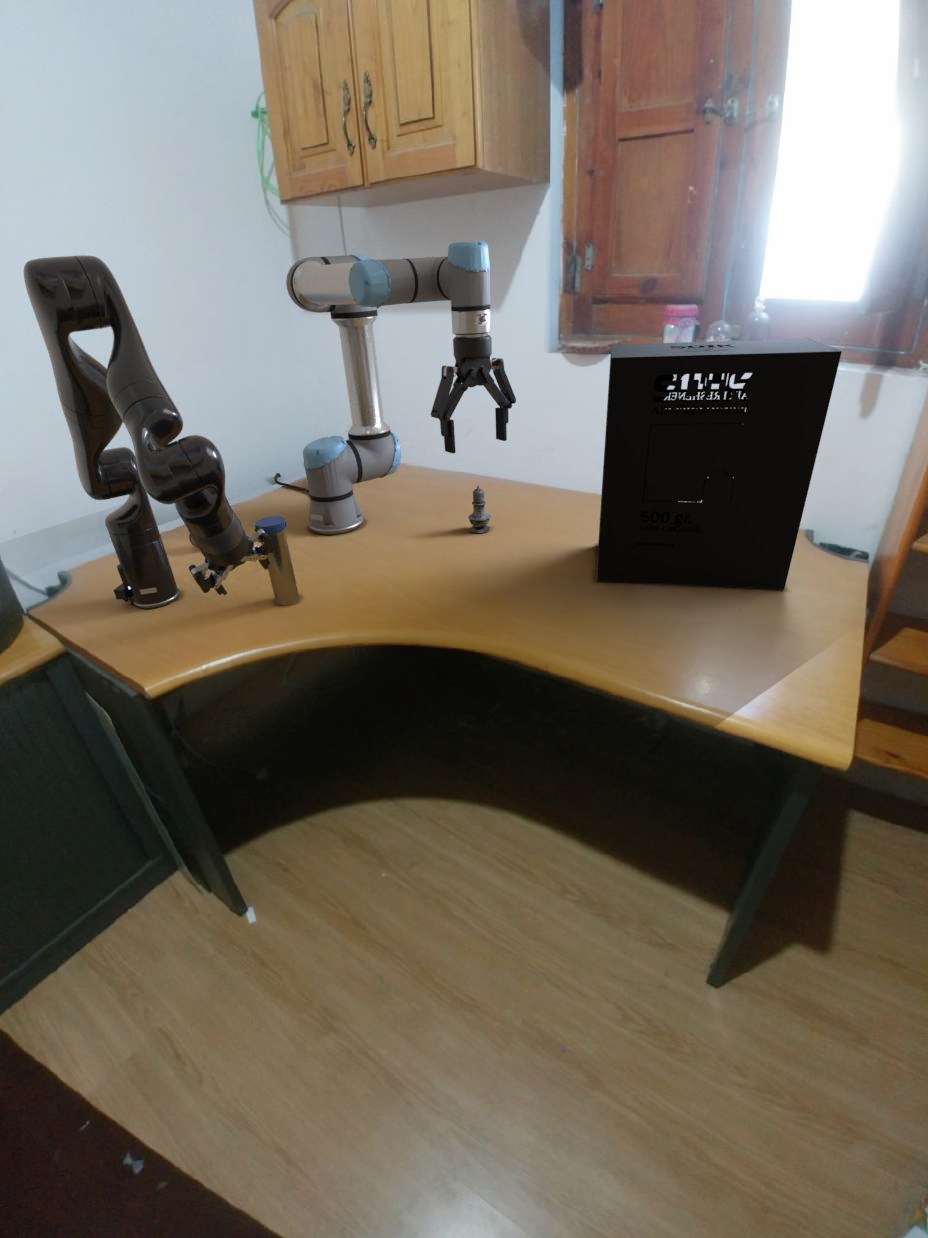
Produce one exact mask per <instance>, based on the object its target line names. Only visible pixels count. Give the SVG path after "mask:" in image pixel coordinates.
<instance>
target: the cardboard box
mask: <svg viewBox="0 0 928 1238" xmlns="http://www.w3.org/2000/svg"><path fill="white" fill-rule="evenodd" d="M841 356H842V350H840V349H838V348H834V347H833V346H829V345H827V344H823V343H821V342H819V341H816V340H813V339H811V338H808V337H807V338H806V337H805V338H780V339H779V338H777V339H776V338H775V339H774V338H773V339H749V340H748V339H746V340H745V339H744V340H718V341H688V342H687V341H685V342H683V341H682V342H681V341H680V342H652V343H624V344H623V343H621V344H611V345H610V358H609V372H608V373H609V374H608V386H607V388H608V392H607V405H606V419H605V420H606V422H605V434H604V451H603V452H604V453H603V466H602V481H601V496H600V512H599V513H600V514H599V528H598V541H597V542H598V543H597V566H596V567H597V568H596V582H609V583H630V584H648V585H649V584H653V585H672V586H673V585H674V586H675V585H676V586H693V587H695V586H697V587H699V586H700V587H716V588H717V587H718V588H719V587H720V588H739V589H740V588H742V589H762V590H764V589H765V590H781V591H782V590H785V588H786V584H787V580H788V576H789V572H790V567H791V563H792V559H793V555H794V551H795V546H796V542H797V538H798V535H799V531H800V528H801V527H800V526H801V522H802V518H803V514H804V509H805V506H806V501H807V497H808V493H809V489H810V485H811V480H812V476H813V472H814V468H815V465H816V460H817V456H818V451H819V447H820V443H821V440H822V435H823V432H824V427H825V423H826V419H827V415H828V410H829V405H830V403H831V398H832V394H833V390H834V386H835V381H836V378H837V374H838V369H839V365H840V360H841ZM745 374H751V375H750V376H749V377H748V378H743V377H744V376H745ZM675 375H676V378H675ZM685 375H688V380H687V386H686V388H682V385H683V377H684V376H685ZM696 375H700V380H699V379H695V377H696ZM710 375H712V377H711V379H710ZM723 375H724V376H723ZM733 376H734V378H733V385H738V384H743V386H742V387H741V388H739V387H738V388H733V387H731V385H730V383H731V379H732V377H733ZM699 385H702V388H699ZM713 385H718V388H712V387H713ZM670 386H671V387H673V388H671V389H668V388H669V387H670Z"/></svg>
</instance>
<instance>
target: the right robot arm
mask: <svg viewBox="0 0 928 1238" xmlns="http://www.w3.org/2000/svg"><path fill="white" fill-rule="evenodd" d="M490 263H491V262H490V252H489V245H488V244H487V242H485V241H484V240H466V241H455V242H451V243H450V244H449V245H448V247H447V256H431V257H430V256H427V257H413V258H411V257H410V258H391V259H390V258H386V259H374V258H370V257H369V256H367V255H358V254H349V255H328V256H326V255H325V256H310V257H305V258H302V259H300V260H298V261H296V262H295V263H293V265H291V267H290V268H289V269H288V272H287V275H286V281H285V282H286V283H285V284H286V285H285V286H286V290H287V293H288V296H289V297H290V299H291V300H292V303H294V304H295V305H296V306H298V307H299V308H300V309H302V310H304V311H306V312H310V313H318V314H319V313H320V314H321V313H330V320H331V321H332V322H333V323H334V324H335V325H336V326H337V327H338V332H339V333H338V334H339V339H340V347H341V355H342V361H343V369H344V375H345V382H346V383H345V384H346V389H347V396H348V404H349V410H350V418H351V425H350V426H349V428H348V430H347V436H348V439H345V437H343V436H341V435H332V436H324V437H321V438H318V439H315V440H312V441H311V442H309V443H308V444H306V445H305V446H304V448H303V450H302V457H303V459H302V460H303V467H304V471H305V476H306V481H307V486H308V488H305V487H303V486H300V485H299V486H298V485H294V484H289V483H286V482H282V481H278V478H281V477H282V475H281V474H280V472H276V473H275V475H274V478H273V480H274V483H275V484H276V485H279V486H282V487H285V488H286V487H287V488H290V489H295V490H300V491H302V492H306V493H308V494H309V498H310V507H309V513H308V523H307V524H308V528H309V529H308V530H310V531H311V532H312V533H314V534H317V535H323V536H324V535H325V536H327V535H329V536H331V535H339V534H340V535H341V534H345V533H350V532H353V531H355V530H357V529H359V528H361V527H362V526H363V525H364V523H365V519H364V514H363V512H362V510H361V508H360V505H359V504H358V501H357V500H356V498H355V495H354V489H353V485H354V484H355V485H356V484H359V483H363V482H368V481H371V480H375V479H381V478H385V477H387V476H390V475H392V474H394V473H396V472H397V470H398V469H399V467H400V465H401V462H402V446H401V443H400V441H399V437H398V436H397V435H396V434H395V432H394V431H391V426H390V425H388V423H386V422H385V420H384V419H385V418H384V410H383V402H382V393H381V385H380V377H379V368H378V367H379V366H378V358H377V349H376V341H375V331H374V324H375V322H376V320H377V319H378V317H379V314H378V309H379V308H381V307H385V306H394V305H403V304H405V305H406V304H417V303H419V304H420V303H427V302H428V303H429V302H444V301H448V302H449V301H450V311H451V313H450V314H451V315H450V316H451V334H453V335H454V337H453V339H452V350H453V358H454V359H455V363H454V366H452V365H442V366H441V373H440V374H441V375H440V376H441V377H440V381H439V384H438V388H437V390H436V395H435V398H434V401H433V404H432V407H431V411H430V416H431V418H435V419H438V421H439V426H440V435H441V437H443V441H444V442H443V443H444V452H446V453H450V454H456V433H455V420H454V419H451V418H452V416H453V414H454V413H455V410H456V409H457V406H458V404H459V402H460V401H461V399H462V397H463V396H464V393H465V392H466V391H468V389H469V388H474V387H477V386H478V387H482V386H483V387H484V389H485V390H486V391H487V392H488V394H489V396H491V398H492V399H493V401H494V402H495V403H496V405H497V406H498V407H495V408H494V410H495V411H494V413H495V414H494V415H495V439H496V440H499V441H502V442H507V441H508V438H507V435H508V433H507V424H509V410H510V409H512V407H513V404H516V403H517V398H516V394H515V393H514V390H513V388H512V385H511V383H510V380H509V378H508V375H507V373H506V370H505V363H504V362H505V361H504V359H503V358H499V357H493V358H491V356H492V354H493V346H492V344H493V343H492V340H493V339H492V336H491V335H489V333H491V332H492V315H491V314H492V312H491V311H492V309H491V264H490ZM491 370H492V374H493V376H494V378H493V376H492V375H491ZM455 377H456V378H455ZM454 378H455V380H454ZM495 381H496V383H497V384H496V383H495Z"/></svg>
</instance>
